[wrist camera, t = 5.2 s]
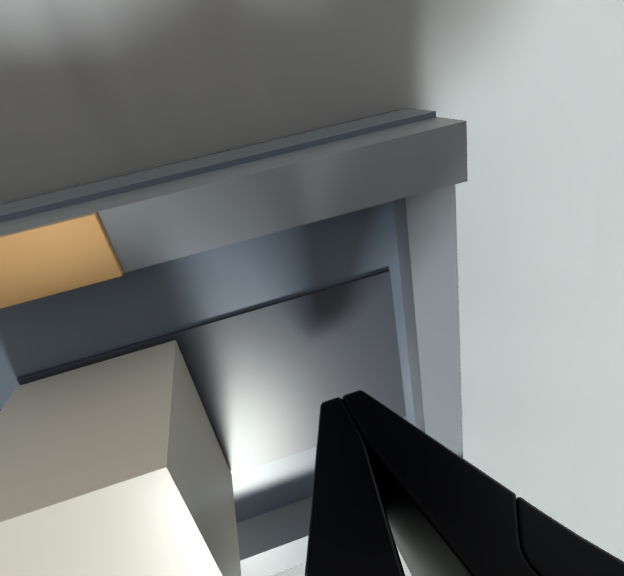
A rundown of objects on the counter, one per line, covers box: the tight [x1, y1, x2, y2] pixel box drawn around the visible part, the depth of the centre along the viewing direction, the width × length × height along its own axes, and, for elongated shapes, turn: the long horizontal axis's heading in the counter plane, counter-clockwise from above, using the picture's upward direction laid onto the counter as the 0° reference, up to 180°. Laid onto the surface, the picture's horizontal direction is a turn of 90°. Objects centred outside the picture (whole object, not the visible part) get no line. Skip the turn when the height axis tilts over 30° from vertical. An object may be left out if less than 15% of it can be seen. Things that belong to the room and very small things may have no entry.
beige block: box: [0, 340, 241, 576], centre depth 8 cm, size 4×3×3 cm
